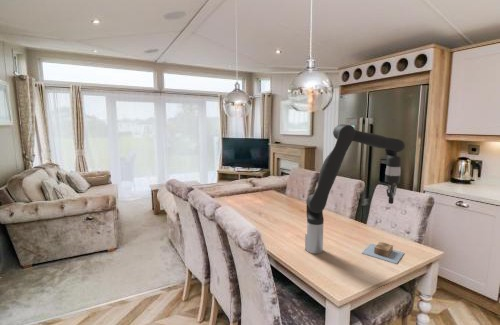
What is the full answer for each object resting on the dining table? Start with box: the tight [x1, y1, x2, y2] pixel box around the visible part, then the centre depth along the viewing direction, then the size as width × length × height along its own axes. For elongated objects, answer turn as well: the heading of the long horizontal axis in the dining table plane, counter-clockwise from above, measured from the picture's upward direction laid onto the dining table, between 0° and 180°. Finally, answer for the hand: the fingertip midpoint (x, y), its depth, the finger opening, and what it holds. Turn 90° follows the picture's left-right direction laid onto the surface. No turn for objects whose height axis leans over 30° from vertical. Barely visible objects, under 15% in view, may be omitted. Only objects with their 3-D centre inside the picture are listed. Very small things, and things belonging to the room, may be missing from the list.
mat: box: [361, 243, 405, 265], centre depth 150 cm, size 18×16×1 cm
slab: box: [374, 241, 394, 257], centre depth 150 cm, size 7×4×10 cm
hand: (390, 203), depth 154 cm, fingers closed
